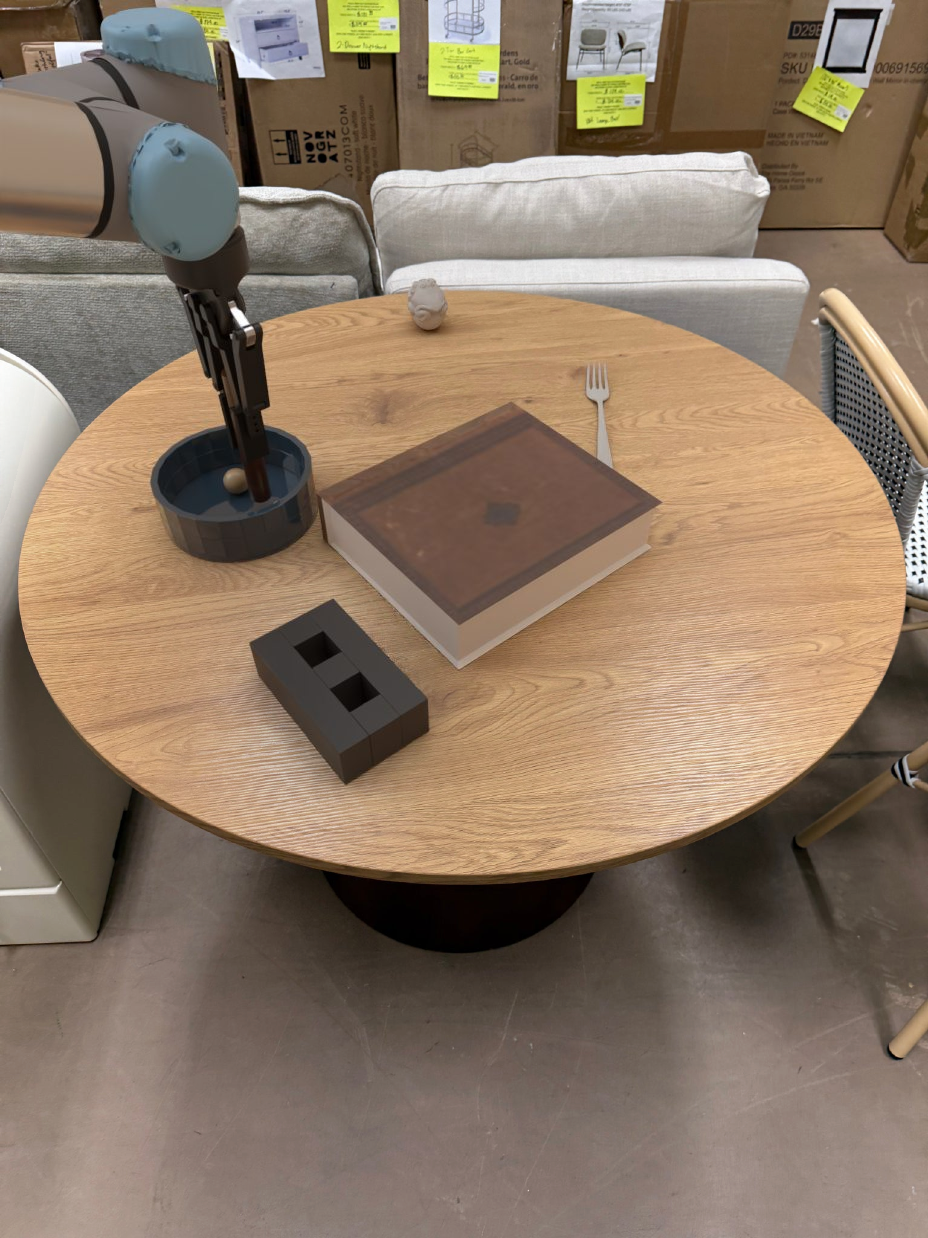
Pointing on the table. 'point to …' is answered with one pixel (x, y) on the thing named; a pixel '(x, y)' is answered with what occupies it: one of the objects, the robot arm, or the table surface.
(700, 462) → the table surface
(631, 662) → the table surface
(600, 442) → the fork
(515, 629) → the book
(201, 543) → the bowl
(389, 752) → the holder
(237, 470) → the bead
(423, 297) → the grey lumpy oval lump
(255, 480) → the stirring stick
